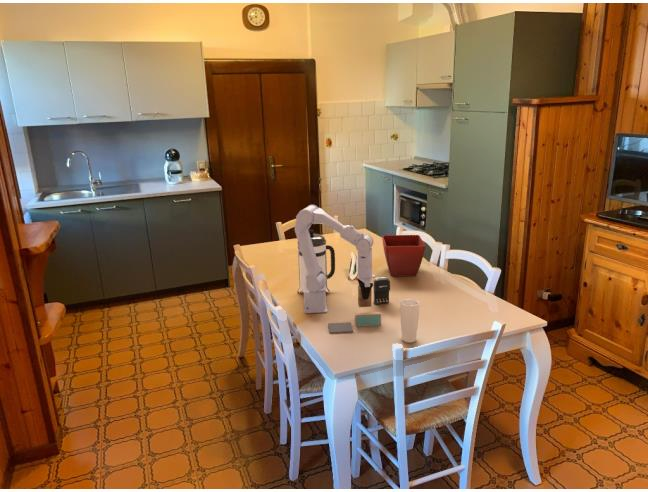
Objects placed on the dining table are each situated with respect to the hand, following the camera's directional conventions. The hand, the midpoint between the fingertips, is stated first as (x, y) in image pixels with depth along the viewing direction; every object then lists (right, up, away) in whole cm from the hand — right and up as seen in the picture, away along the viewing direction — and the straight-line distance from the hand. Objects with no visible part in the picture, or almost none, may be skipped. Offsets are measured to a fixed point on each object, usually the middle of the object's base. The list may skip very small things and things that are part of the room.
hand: (364, 297), depth 201 cm
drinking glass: (+15, -14, -19) cm, 28 cm away
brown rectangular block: (0, -3, +1) cm, 4 cm away
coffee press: (-21, -1, +27) cm, 34 cm away
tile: (+1, -10, -6) cm, 12 cm away
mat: (-10, -11, -9) cm, 18 cm away
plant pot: (+23, +7, +50) cm, 55 cm away
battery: (+8, -4, +13) cm, 16 cm away
